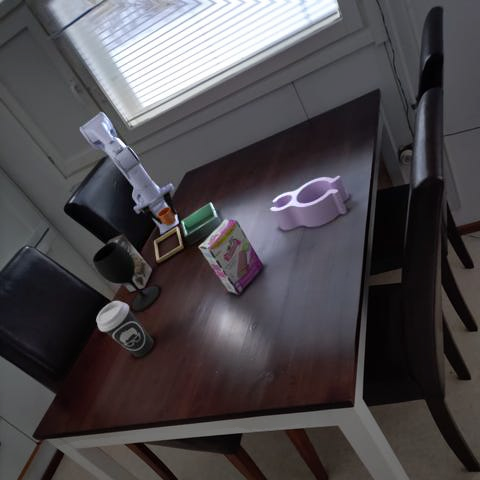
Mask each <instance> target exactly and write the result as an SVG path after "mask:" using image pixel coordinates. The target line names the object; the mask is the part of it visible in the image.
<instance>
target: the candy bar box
mask: <svg viewBox="0 0 480 480" xmlns="http://www.w3.org/2000/svg"><path fill="white" fill-rule="evenodd" d="M197 248H198V249H199V250H200V252H201V253H202V255H203V256H204V258H205V259H206V261H207V263H208V264H209V265H210V267H211V268H212V269H213V271H214V272H215V274H216V275H217V277H218V278H219V280H220V281H221V283H222V284H223V285H224V287H225V288H226V290H227V291H228V292H229V293H232V294H236V295H238V296H240V295H241V294H242V292H243V291H244V290H245V289H246V288H247V287H248V286H249V285H250V283H252V282H253V280H254V279H255V278H256V276H257V275H259V273H260V272H261V271H262V270H263V268H265V266H264V264H263V262H262V260H261V259H260V256H259V255H258V254H257V253H256V250H255V249H254V247H253V246H252V244H251V242H250V240H249V238H248V237H247V235H246V234H245V232H244V230H243V228H242V227H241V225H240V223H239V221H238V220H237V219H228V218H225V219H223V221H221V224H220V225H219V226H218V227H217V229H215V230H214V231H212V232H211V233H210V234H209V235H208V237H206V239H204V240H203V242H202V243H201V244H200V245H199V246H198V247H197Z"/></svg>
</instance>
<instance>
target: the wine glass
mask: <svg viewBox="0 0 480 480" xmlns="http://www.w3.org/2000/svg"><path fill="white" fill-rule="evenodd" d="M92 263H93V265H94V267H95V269H96V271H97V272H98V273H99V275H100V276H101V277H102V278H103V279H104V280H106V281H108V282H109V283H112V284H117V285H121V284H123V285H124V283H129V284H131V285H132V286H133V287H134V288H135V289H136V290H135V291H137V293H138V294H137V295H136V296H135V298H134V299H133V301H132V303H131V308H132V310H133V311H136V312H141V311H143V310H146V309H147V308H149V307H150V306H151V305H153V303H155V301H156V300H157V299H158V297H159V295H160V288H159V287H158V286H156V285H152V286H149V287H145V288H143V290H141V289H139V288H138V287H137V286H136V284H135V283H134V281H133V276H134V272H135V264H134V260H133V258H132V256H131V255H130V254H129V252H128V251H127V250H126V249H125V248H123V247H122V246H121V245H119V244H118V243H116V242H111V243H109V244H107V243H106V244H105V245H103V246H102V247H101V248H100V249H98V250H97V252H96V253H95V254H94V255H93V257H92Z"/></svg>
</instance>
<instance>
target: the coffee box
mask: <svg viewBox="0 0 480 480" xmlns="http://www.w3.org/2000/svg"><path fill="white" fill-rule="evenodd" d="M111 242H116V243H118V244H119V245H121V246H122V247H123V248H125V249H126V250H127V251H128V252H129V254H130V255H131V256H132V258H133V260H134V264H135V272H134V276H133V281H134V283H135V284H136V286H137V287H138V288H139V289H140V290H141V289H145V288H146V285H147V283H148V281H149V278H150V277H151V274H152V272H153V269H152V268H151V266H150V265H149V264H148V263H147V261H146V260H145V259H144V258H143V256H141V254H140V253H139V252H138V251H137V249H136V248H135V247H134V246H133V244H132V243H131V242H130V240H128V238H127V237H126V235H124V234H120V235H117V236H116V237H115V236H114V237H113V238H111V239H109V240H108V241H107V243H106V245H107V244H109V243H111ZM123 286H125V287H126V289H127V290H128V291H129V292H130V293H132V292H134V291H135V292H136V291H137V290H136V289H135V288H134V287H133V286H132V285H131V284H129V283H124V284H123Z"/></svg>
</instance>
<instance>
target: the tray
mask: <svg viewBox="0 0 480 480" xmlns="http://www.w3.org/2000/svg"><path fill="white" fill-rule="evenodd" d="M180 232H181V231H180V228H179V226H176V227H174V228H171V229H170V230H168V232H165V233H163V235H161V236H160V237H158V238H156V239H154V241H153V245H154V246H153V247H154V252H155V259H156V263H157V264H161V263H162V262H163V261H165V260H167V259H168V258H170V257H172V256H173V255H175V254H176V253H177V252H180V251H181V250H183V249H184V244H183V243H184V242H183V240H182V236H181V233H180ZM174 233H176V234H177V237H178V242H179V246H177V247H176V248H174V249H172V250H170V251H169V252H167V253H165V254H164V255H162V256H161V257H160V254H159V253H160V252H159V247H158V244H159V243H160V242H162V241H164V240H165V239H167V238H168V237H170V236H171V235H173V234H174Z"/></svg>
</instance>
